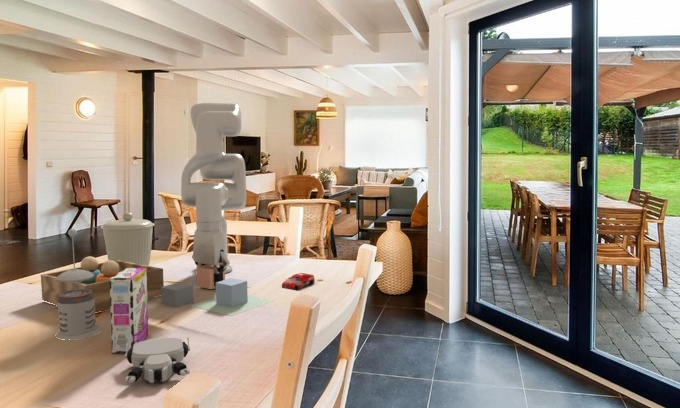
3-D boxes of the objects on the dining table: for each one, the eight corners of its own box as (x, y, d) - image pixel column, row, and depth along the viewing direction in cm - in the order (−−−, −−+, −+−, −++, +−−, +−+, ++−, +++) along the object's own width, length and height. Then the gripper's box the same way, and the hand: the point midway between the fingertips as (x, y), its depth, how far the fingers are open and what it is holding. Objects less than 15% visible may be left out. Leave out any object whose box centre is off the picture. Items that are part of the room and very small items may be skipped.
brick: (197, 286, 158) (196, 267, 158) (211, 281, 163) (211, 262, 163) (210, 289, 155) (210, 270, 154) (225, 284, 160) (224, 265, 159)
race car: (291, 293, 158) (291, 280, 158) (278, 290, 161) (278, 278, 161) (317, 283, 169) (317, 271, 168) (304, 281, 172) (304, 269, 171)
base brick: (216, 304, 141) (215, 282, 141) (232, 298, 146) (231, 278, 146) (231, 307, 138) (231, 285, 138) (247, 302, 143) (247, 281, 143)
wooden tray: (42, 302, 148) (40, 274, 147) (118, 284, 168) (117, 259, 167) (87, 315, 135) (86, 286, 135) (164, 294, 155) (163, 268, 154)
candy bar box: (135, 353, 110) (132, 278, 108) (111, 354, 110) (107, 278, 108) (150, 335, 121) (147, 266, 119) (128, 335, 121) (125, 267, 119)
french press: (52, 342, 116) (45, 233, 114) (57, 327, 127) (51, 226, 124) (100, 336, 120) (94, 230, 118) (101, 321, 131) (96, 224, 128)
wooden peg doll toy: (154, 293, 158) (153, 252, 157) (112, 309, 142) (110, 264, 141) (108, 287, 164) (106, 249, 163) (62, 302, 148) (60, 259, 147)
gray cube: (161, 308, 142) (160, 287, 141) (179, 303, 147) (178, 282, 146) (175, 312, 139) (175, 290, 138) (193, 306, 144) (192, 285, 143)
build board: (189, 310, 140) (189, 305, 140) (232, 296, 153) (232, 292, 153) (232, 320, 131) (231, 315, 131) (273, 304, 145) (273, 300, 145)
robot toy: (193, 387, 96) (189, 352, 110) (192, 365, 96) (188, 332, 109) (122, 397, 92) (127, 359, 106) (120, 374, 92) (126, 339, 106)
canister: (150, 262, 201) (148, 208, 199) (161, 271, 186) (158, 213, 184) (100, 267, 192) (97, 211, 190) (106, 277, 176) (103, 216, 174)
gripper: (180, 225, 158) (182, 281, 161) (220, 231, 149) (221, 291, 151) (199, 221, 165) (201, 276, 167) (238, 227, 155) (240, 285, 158)
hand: (211, 283), depth 159 cm, fingers closed on brick, 6 cm apart
